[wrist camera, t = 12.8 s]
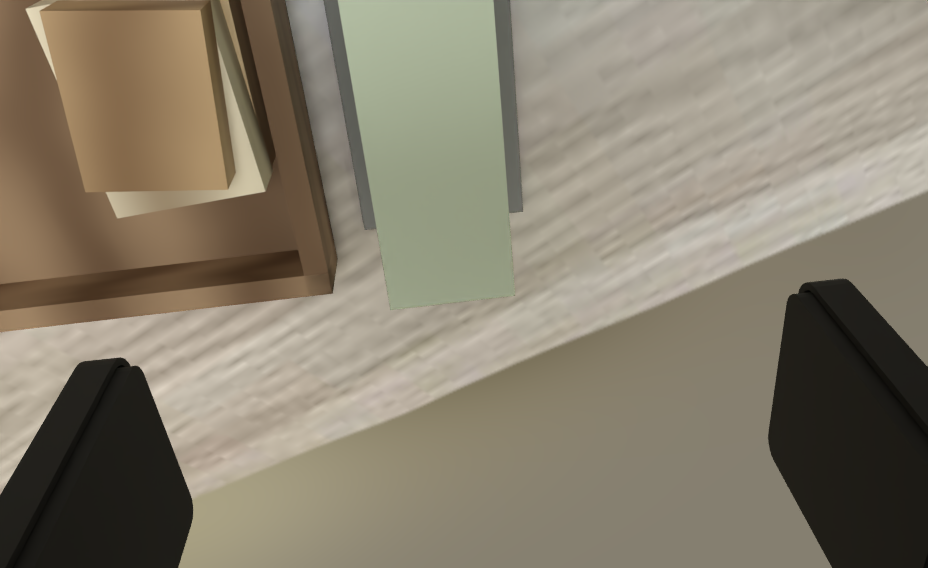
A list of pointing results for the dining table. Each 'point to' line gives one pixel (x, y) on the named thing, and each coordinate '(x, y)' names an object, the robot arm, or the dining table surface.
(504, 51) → the mat
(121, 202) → the offcut birch
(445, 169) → the pale green rectangular block
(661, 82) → the dining table surface
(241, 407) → the dining table surface
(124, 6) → the offcut teak
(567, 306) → the dining table surface
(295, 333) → the dining table surface
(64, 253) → the wooden tray
